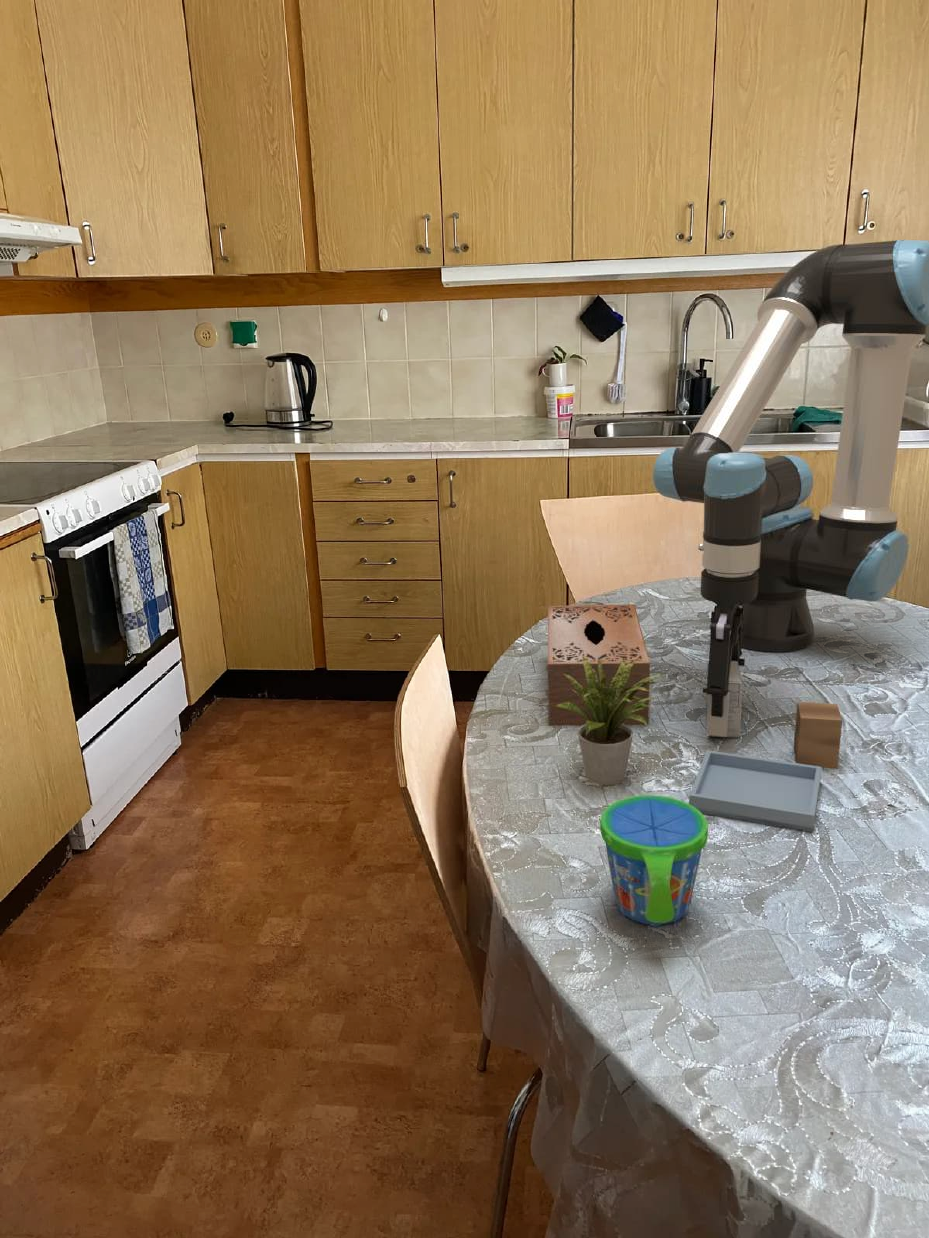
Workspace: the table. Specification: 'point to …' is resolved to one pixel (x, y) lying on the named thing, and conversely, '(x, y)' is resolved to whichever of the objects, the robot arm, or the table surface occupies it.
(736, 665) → the medicine box
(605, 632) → the tissue box cover
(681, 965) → the table surface
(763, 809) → the grey tray
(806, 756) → the walnut block
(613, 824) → the snack cup
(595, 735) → the house plant
